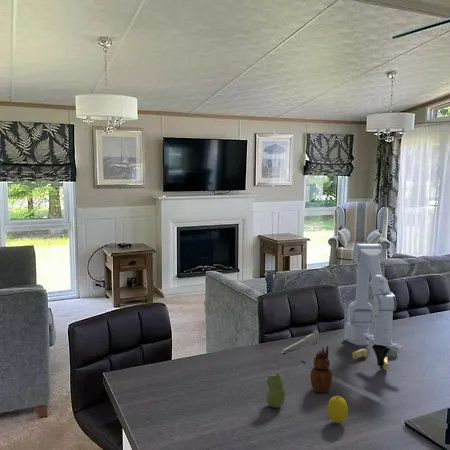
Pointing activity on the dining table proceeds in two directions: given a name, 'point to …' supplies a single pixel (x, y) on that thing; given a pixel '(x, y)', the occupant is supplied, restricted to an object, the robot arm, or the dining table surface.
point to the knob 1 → (360, 354)
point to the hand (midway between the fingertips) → (380, 365)
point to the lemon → (337, 409)
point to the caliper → (303, 341)
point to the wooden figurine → (321, 372)
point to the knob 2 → (385, 363)
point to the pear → (275, 391)
